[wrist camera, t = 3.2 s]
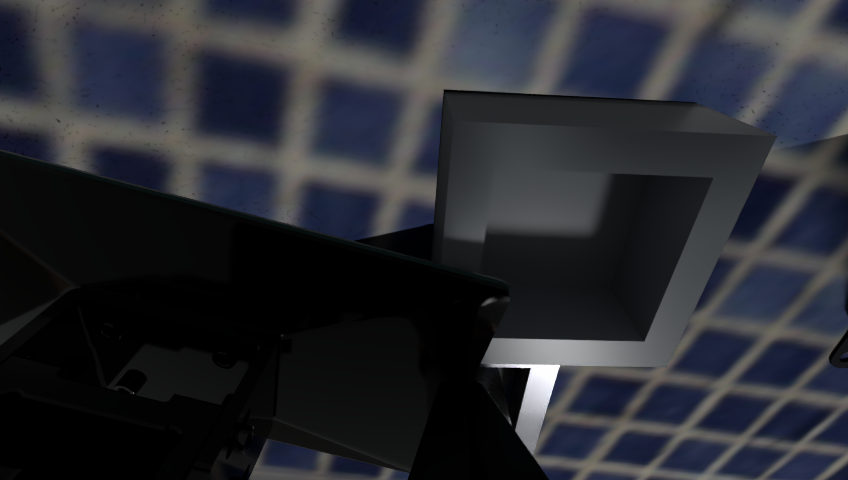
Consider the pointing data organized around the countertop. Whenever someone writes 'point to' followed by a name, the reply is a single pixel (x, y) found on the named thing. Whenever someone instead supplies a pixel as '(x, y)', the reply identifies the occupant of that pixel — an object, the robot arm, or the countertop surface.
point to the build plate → (211, 334)
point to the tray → (590, 217)
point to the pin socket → (529, 399)
